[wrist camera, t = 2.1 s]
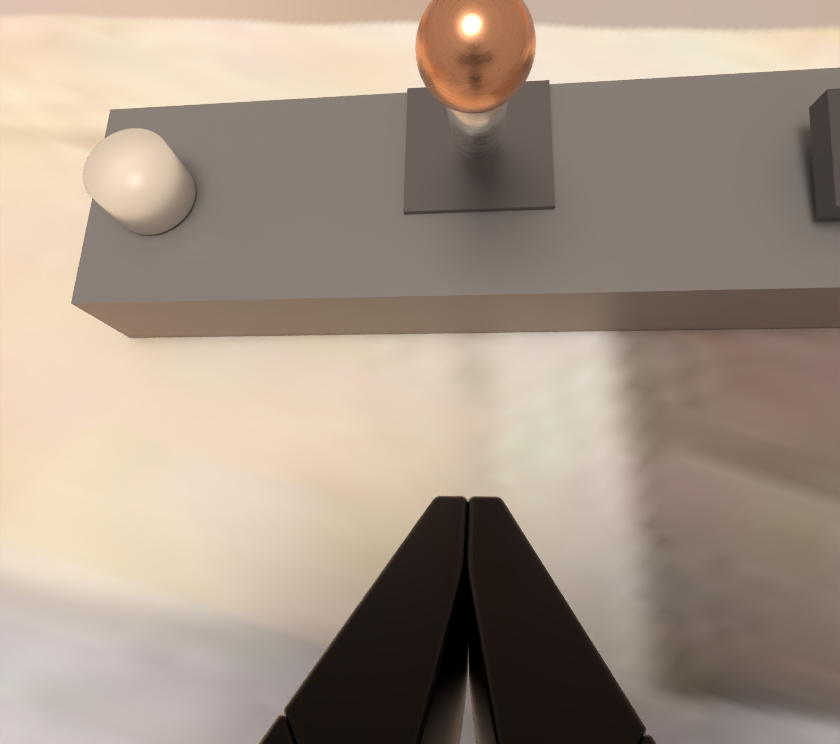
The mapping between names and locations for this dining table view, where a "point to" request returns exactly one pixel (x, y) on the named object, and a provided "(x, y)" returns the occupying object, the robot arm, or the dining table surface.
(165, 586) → the dining table surface
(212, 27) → the dining table surface
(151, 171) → the push button
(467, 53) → the toggle lever
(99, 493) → the dining table surface
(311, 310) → the switch panel
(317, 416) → the dining table surface
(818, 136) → the rocker
